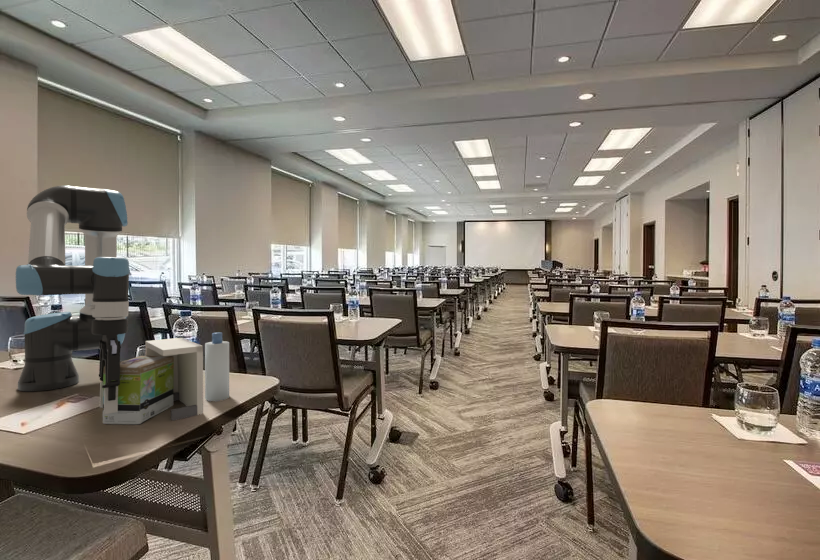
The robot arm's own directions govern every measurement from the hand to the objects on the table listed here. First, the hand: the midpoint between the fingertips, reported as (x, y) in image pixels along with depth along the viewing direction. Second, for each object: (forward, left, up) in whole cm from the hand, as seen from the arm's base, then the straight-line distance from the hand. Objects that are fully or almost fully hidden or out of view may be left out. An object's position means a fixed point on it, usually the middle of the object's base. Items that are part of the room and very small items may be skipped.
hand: (108, 409), depth 108 cm
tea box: (-2, +7, -4) cm, 8 cm away
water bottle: (-2, +27, -4) cm, 28 cm away
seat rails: (0, +14, -4) cm, 15 cm away
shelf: (0, +14, -4) cm, 15 cm away
